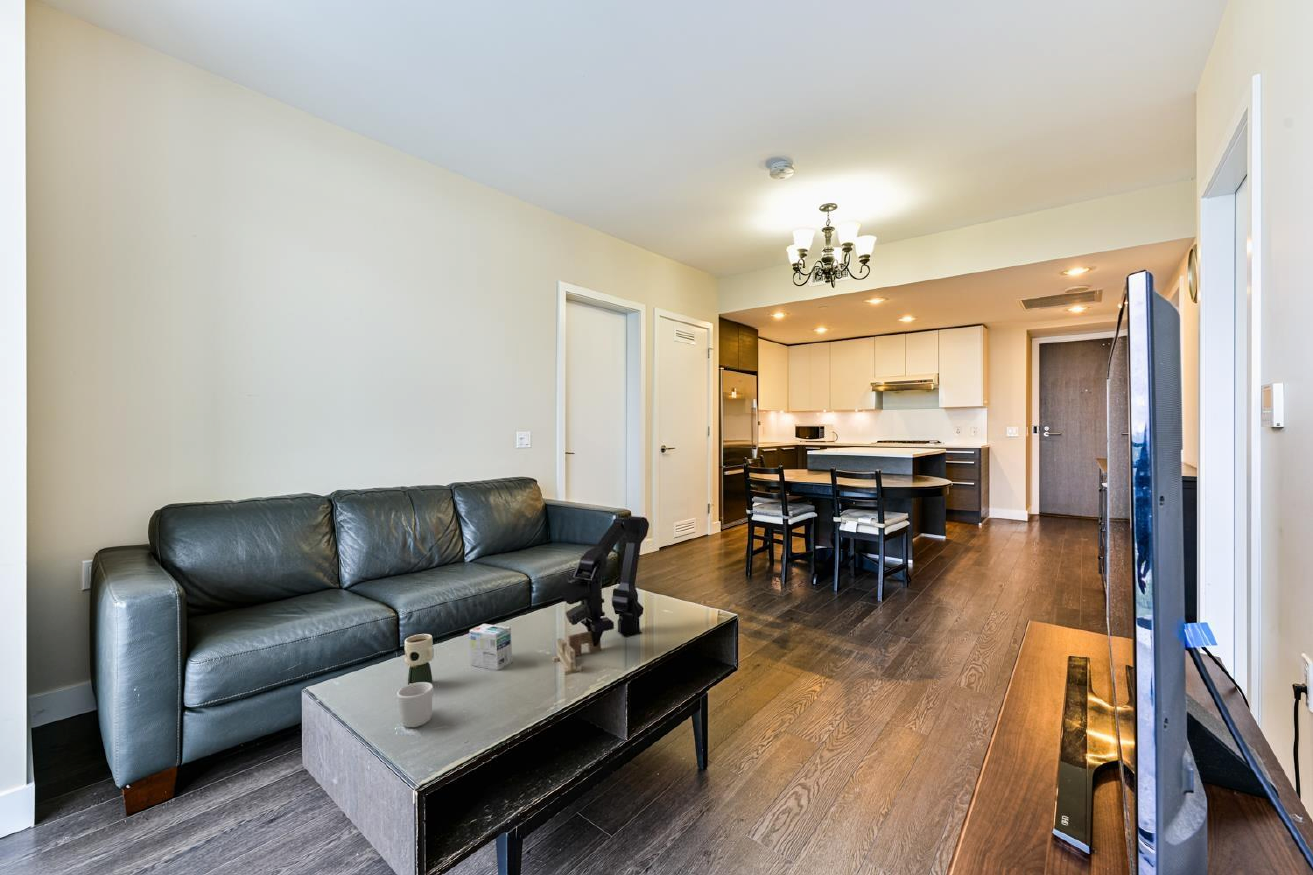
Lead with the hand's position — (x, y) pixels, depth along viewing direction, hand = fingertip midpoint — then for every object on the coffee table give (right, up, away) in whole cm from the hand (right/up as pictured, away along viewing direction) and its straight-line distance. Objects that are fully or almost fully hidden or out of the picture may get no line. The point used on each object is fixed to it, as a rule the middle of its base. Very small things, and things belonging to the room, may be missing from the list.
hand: (594, 645), depth 173 cm
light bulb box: (-30, -3, -8) cm, 31 cm away
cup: (-38, -3, -39) cm, 55 cm away
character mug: (-46, -3, -21) cm, 50 cm away
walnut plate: (-3, -2, -2) cm, 4 cm away
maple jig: (-7, -2, -11) cm, 13 cm away
